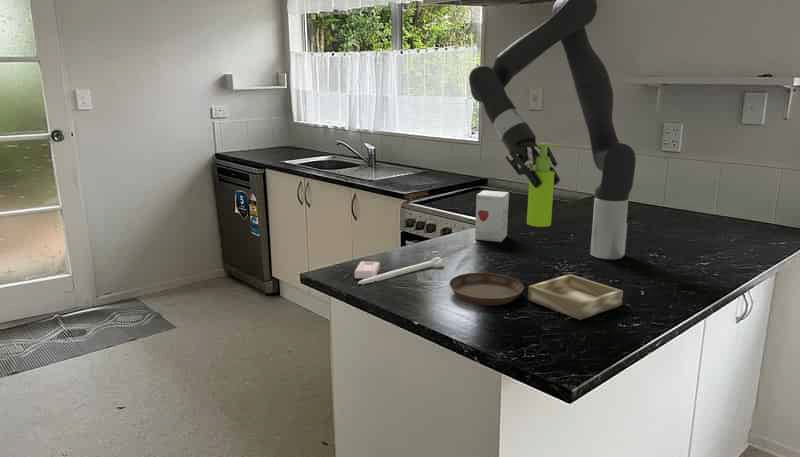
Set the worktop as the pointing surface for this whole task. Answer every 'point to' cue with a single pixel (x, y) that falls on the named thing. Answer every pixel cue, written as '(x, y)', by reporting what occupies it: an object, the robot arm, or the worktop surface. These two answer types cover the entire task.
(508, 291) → the plant saucer
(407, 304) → the worktop surface
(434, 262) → the white ball-headed stick
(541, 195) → the soap dispenser
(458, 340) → the worktop surface
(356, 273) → the soap bar
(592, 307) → the birch crate
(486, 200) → the supplement box
